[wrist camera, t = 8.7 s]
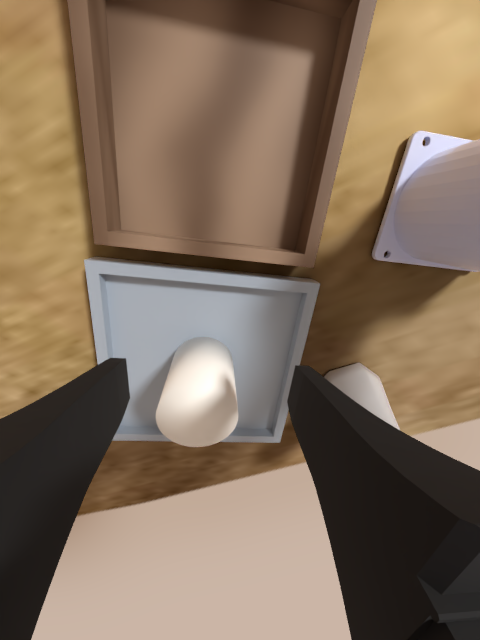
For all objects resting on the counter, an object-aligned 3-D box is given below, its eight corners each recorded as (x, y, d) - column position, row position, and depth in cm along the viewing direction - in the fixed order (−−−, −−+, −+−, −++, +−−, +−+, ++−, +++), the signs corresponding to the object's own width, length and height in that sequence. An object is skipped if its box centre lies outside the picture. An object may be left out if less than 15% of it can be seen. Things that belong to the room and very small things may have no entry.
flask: (328, 431, 25) (390, 551, 16) (295, 389, 23) (346, 504, 14) (389, 397, 24) (494, 505, 15) (362, 348, 22) (468, 444, 12)
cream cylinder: (229, 333, 19) (234, 380, 14) (235, 383, 21) (241, 441, 16) (167, 340, 19) (146, 390, 13) (178, 390, 21) (164, 451, 15)
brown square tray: (356, 7, 13) (386, -40, 10) (301, 261, 18) (313, 267, 16) (86, -63, 11) (52, -137, 9) (111, 240, 16) (94, 244, 14)
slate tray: (312, 278, 19) (320, 283, 17) (276, 430, 25) (280, 442, 23) (95, 256, 17) (84, 259, 15) (114, 427, 23) (107, 440, 21)
